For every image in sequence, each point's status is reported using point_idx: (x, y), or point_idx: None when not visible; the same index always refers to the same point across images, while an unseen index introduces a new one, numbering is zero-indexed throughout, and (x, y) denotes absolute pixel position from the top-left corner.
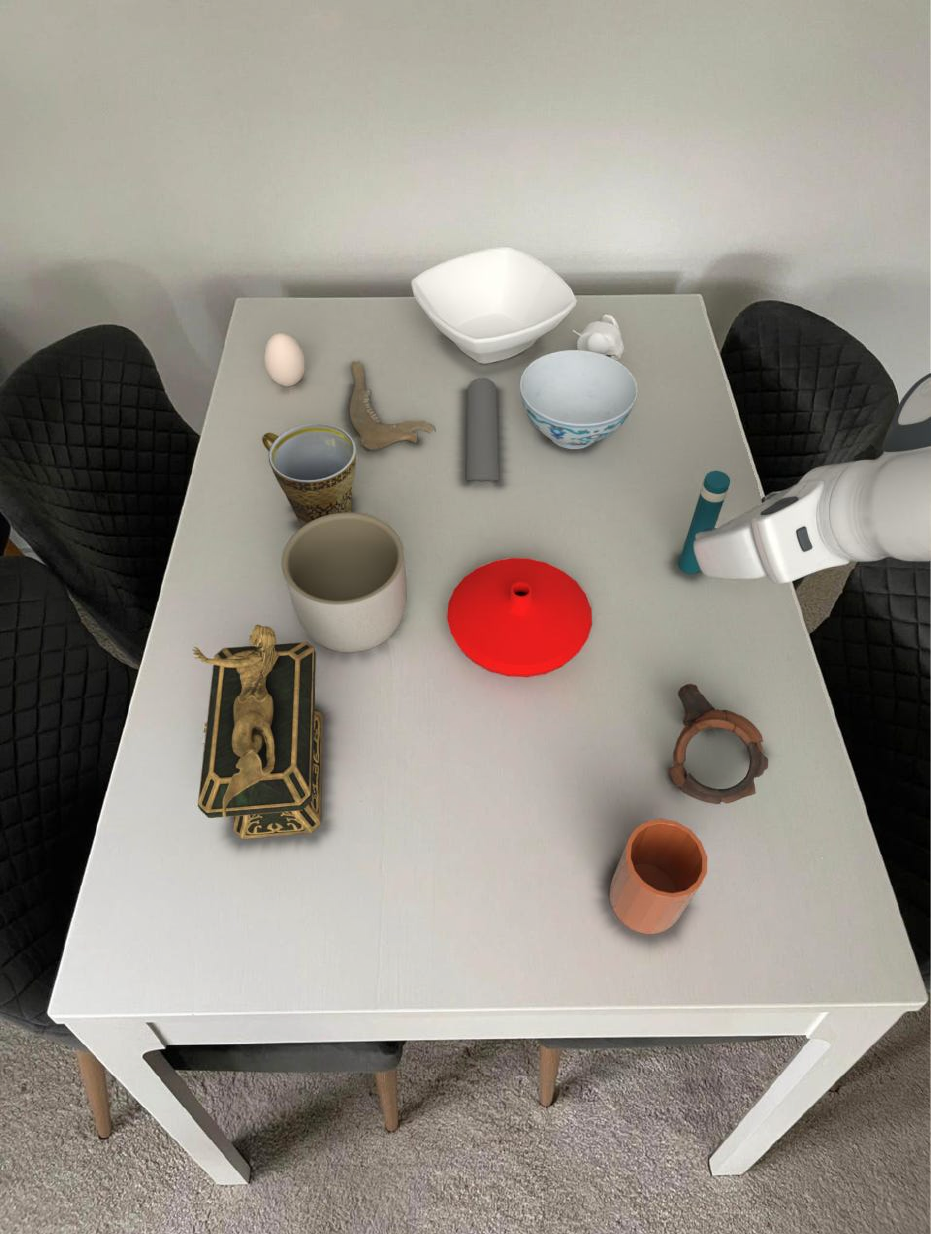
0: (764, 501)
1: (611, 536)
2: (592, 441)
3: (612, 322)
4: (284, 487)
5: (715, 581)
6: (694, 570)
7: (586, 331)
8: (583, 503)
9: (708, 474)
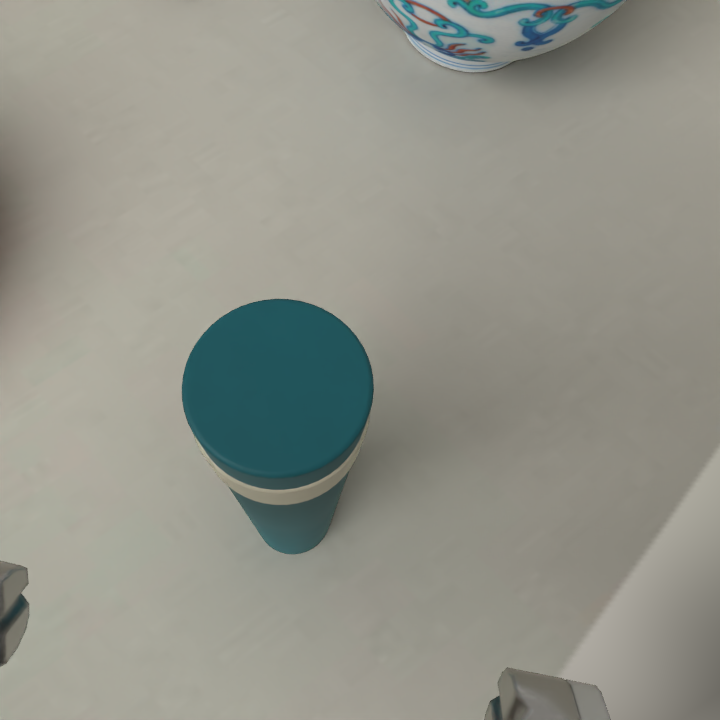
0: (504, 700)
1: (232, 280)
2: (426, 34)
3: None
4: None
5: (298, 625)
6: (271, 546)
7: None
8: (283, 165)
9: (275, 308)
